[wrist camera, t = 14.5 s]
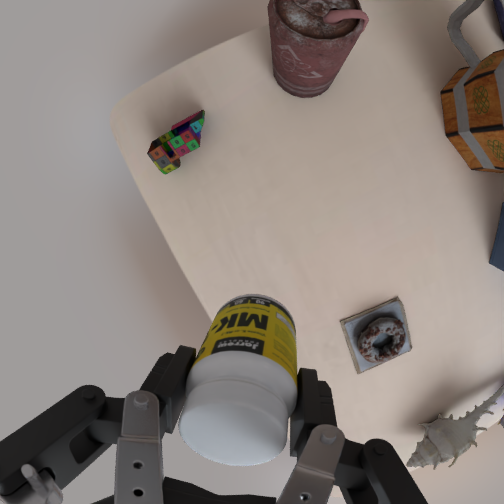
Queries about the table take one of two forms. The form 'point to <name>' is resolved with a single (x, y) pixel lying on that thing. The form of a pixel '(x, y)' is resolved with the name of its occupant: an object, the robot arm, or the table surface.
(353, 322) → the donut
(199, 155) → the table surface
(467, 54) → the mug
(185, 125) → the block
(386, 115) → the table surface
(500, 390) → the seashell
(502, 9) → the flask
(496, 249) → the compartment
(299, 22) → the can
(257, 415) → the supplement bottle
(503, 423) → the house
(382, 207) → the table surface
